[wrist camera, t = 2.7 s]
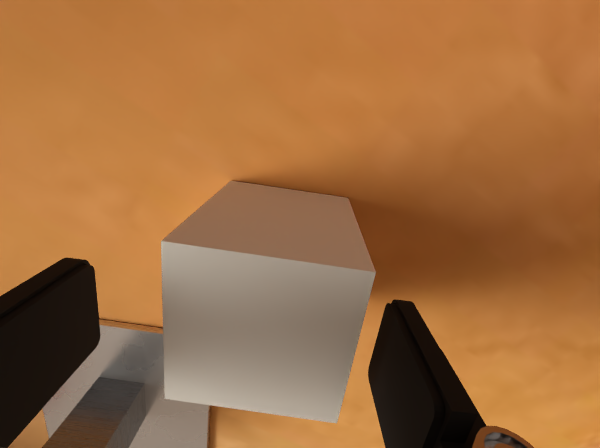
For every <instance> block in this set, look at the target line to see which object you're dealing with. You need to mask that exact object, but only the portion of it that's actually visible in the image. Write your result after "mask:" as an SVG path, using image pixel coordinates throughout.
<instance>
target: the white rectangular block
mask: <svg viewBox="0 0 600 448" xmlns="http://www.w3.org/2000/svg"><path fill="white" fill-rule="evenodd" d="M161 256H162V301H163V345H164V390H165V399H170V400H177V401H184V402H191V403H198V404H205V405H212V406H219V407H226V408H233V409H240V410H247V411H254V412H261V413H268V414H275V415H282V416H289V417H296V418H303V419H310V420H317V421H324V422H331V423H337V421H338V417H339V413H340V409H341V406H342V402H343V398H344V394H345V390H346V386H347V382H348V378H349V375H350V371H351V367H352V363H353V359H354V355H355V351H356V347H357V344H358V340H359V336H360V332H361V328H362V324H363V320H364V317H365V313H366V309H367V305H368V301H369V297H370V293H371V289H372V286H373V282H374V278H375V274H376V271H375V268H374V266H373V263H372V260H371V258H370V255H369V252H368V250H367V247H366V244H365V242H364V239H363V236H362V234H361V231H360V228H359V226H358V223H357V220H356V217H355V215H354V212H353V209H352V207H351V204H350V201H349V199H348V198H346V197H339V196H333V195H326V194H319V193H312V192H305V191H299V190H292V189H285V188H278V187H271V186H265V185H258V184H251V183H244V182H237V181H230V182H229V183H228V184H226V185H225V186H224V187H223V188H222V189H221V190H220V191H218V192H217V193H216V194H215V195H214V196H213V197H211V198H210V199H209V200H208V201H207V202H206V203H205V204H203V205H202V206H201V207H200V208H199V209H198V210H196V211H195V212H194V213H193V214H192V215H191V216H189V217H188V218H187V219H186V220H185V221H184V222H183V223H181V224H180V225H179V226H178V227H177V228H176V229H174V230H173V231H172V232H171V233H170V234H169V235H168V236H166V237H165V238H164V239H163V240H162V241H161Z"/></svg>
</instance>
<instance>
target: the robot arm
mask: <svg viewBox="0 0 600 448" xmlns="http://www.w3.org/2000/svg"><path fill="white" fill-rule="evenodd" d="M99 341H100V324H99V314H98V303H97V292H96V281H95V271H94V268H93V266H91V265H90V264H89V262H88V261H87V260H81V259H74V258H64V259H62V260H60V261H58V262H57V263H55V264H53V265H52V266H50V267H48V268H47V269H45V270H43V271H42V272H40V273H38V274H37V275H35V276H33V277H32V278H30V279H28V280H27V281H25V282H23V283H22V284H20V285H18V286H17V287H15V288H13V289H12V290H10V291H8V292H7V293H5V294H3V295H2V296H0V448H8V446H9V445H10V444H11V443H12V442H13V441H14V440H15V439H16V437H17V436H18V435H19V434H20V433H21V432H22V431H23V430H24V428H25V427H26V426H27V425H28V424H29V423H30V422H31V420H32V419H33V418H34V417H35V416H36V415H37V414H38V413H39V411H40V410H41V409H42V408H43V407H44V406H45V405H46V404H47V402H48V401H49V400H50V399H51V398H52V397H53V396H54V395H55V393H56V392H57V391H58V390H59V389H60V388H61V387H62V386H63V384H64V383H65V382H66V381H67V380H68V379H69V378H70V377H71V375H72V374H73V373H74V372H75V371H76V370H77V369H78V368H79V366H80V365H81V364H82V363H83V362H84V361H85V360H86V358H87V357H88V356H89V355H90V354H91V353H92V352H93V351H94V349H95V348H96V347H97V345H98V343H99ZM368 378H369V383H370V387H371V391H372V395H373V399H374V403H375V407H376V411H377V415H378V419H379V423H380V427H381V431H382V435H383V439H384V443H385V447H386V448H534V447H533V446H532V445H531V444H530V443H528V442H527V441H526V440H524V439H523V438H521V437H520V436H519V435H517V434H515V433H513V432H511V431H509V430H507V429H504V428H501V427H497V426H486V424H485V423H484V421H483V419H482V418H481V416H480V414H479V412H478V411H477V409H476V407H475V406H474V404H473V402H472V401H471V399H470V397H469V395H468V394H467V392H466V390H465V389H464V387H463V385H462V384H461V382H460V380H459V378H458V377H457V375H456V373H455V372H454V370H453V368H452V367H451V365H450V363H449V361H448V360H447V358H446V356H445V355H444V353H443V351H442V350H441V349H440V348H439V346H438V344H437V343H436V341H435V339H434V338H433V336H432V334H431V332H430V331H429V329H428V327H427V326H426V324H425V322H424V320H423V319H422V317H421V315H420V314H419V312H418V310H417V308H416V307H415V305H414V303H413V302H411V301H403V300H393V301H392V303H387V305H386V307H385V310H384V314H383V318H382V321H381V325H380V328H379V332H378V336H377V339H376V343H375V347H374V350H373V354H372V358H371V361H370V365H369V370H368Z"/></svg>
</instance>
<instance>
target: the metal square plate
mask: <svg viewBox="0 0 600 448" xmlns="http://www.w3.org/2000/svg"><path fill="white" fill-rule="evenodd" d="M99 324H100V341H99V343H98V345H97V347H96V348H95V349H94V351H93V352H92V353H91V354H90V355H89V356H88V357H87V358H86V360H85V361H84V362H83V363H82V364H81V365H80V366H79V368H78V369H77V370H76V371H75V372H74V373H73V374H72V375H71V377H70V378H69V379H68V380H67V381H66V382H65V383H64V384H63V386H62V387H61V388H60V389H59V390H58V391H57V392H56V393H55V395H54V396H53V397H52V398H51V399H50V400H49V401H48V402H47V404H46V405H45V406H44V407H43V413H44V417H45V422H46V426H47V431H48V436H49V440H48V441H47V442H46V443H45V445H44V446H43V447H42V448H208V447H209V427H210V407H211V405H205V404H198V403H191V402H184V401H177V400H170V399H165V390H164V345H163V328H157V327H150V326H143V325H136V324H129V323H122V322H115V321H108V320H101V319H99Z"/></svg>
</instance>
